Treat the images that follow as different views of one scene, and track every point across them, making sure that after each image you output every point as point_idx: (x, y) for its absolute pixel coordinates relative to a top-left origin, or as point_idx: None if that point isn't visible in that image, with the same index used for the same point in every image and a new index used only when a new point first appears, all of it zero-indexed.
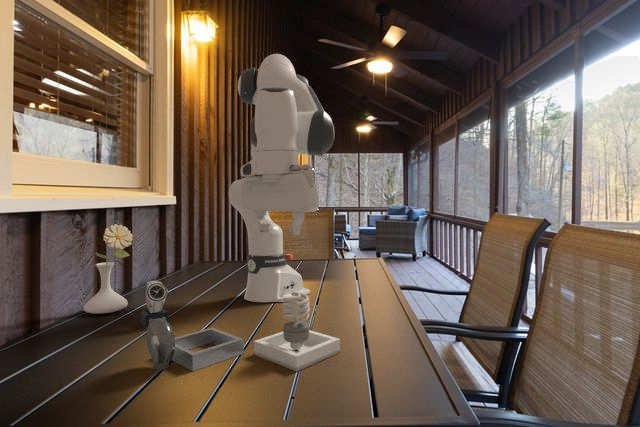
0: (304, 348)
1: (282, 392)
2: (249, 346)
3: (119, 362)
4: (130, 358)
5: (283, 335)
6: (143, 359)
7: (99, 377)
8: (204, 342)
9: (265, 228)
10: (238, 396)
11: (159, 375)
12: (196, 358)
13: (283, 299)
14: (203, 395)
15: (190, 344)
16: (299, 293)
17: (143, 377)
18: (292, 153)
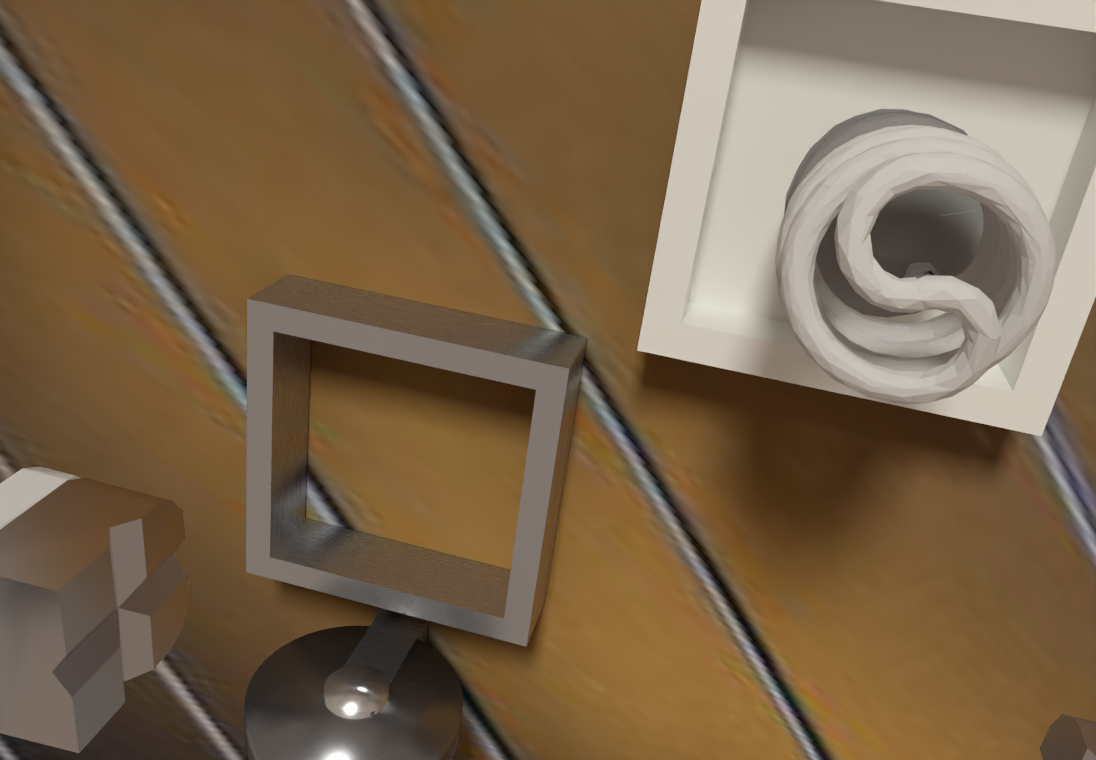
0: None
1: (1072, 604)
2: (532, 233)
3: (216, 648)
4: (207, 606)
5: (719, 136)
6: (258, 592)
7: None
8: (304, 350)
9: (136, 620)
10: (902, 694)
11: (462, 673)
12: (534, 616)
13: (828, 374)
14: (763, 732)
15: (297, 433)
16: (973, 305)
17: None
18: None
